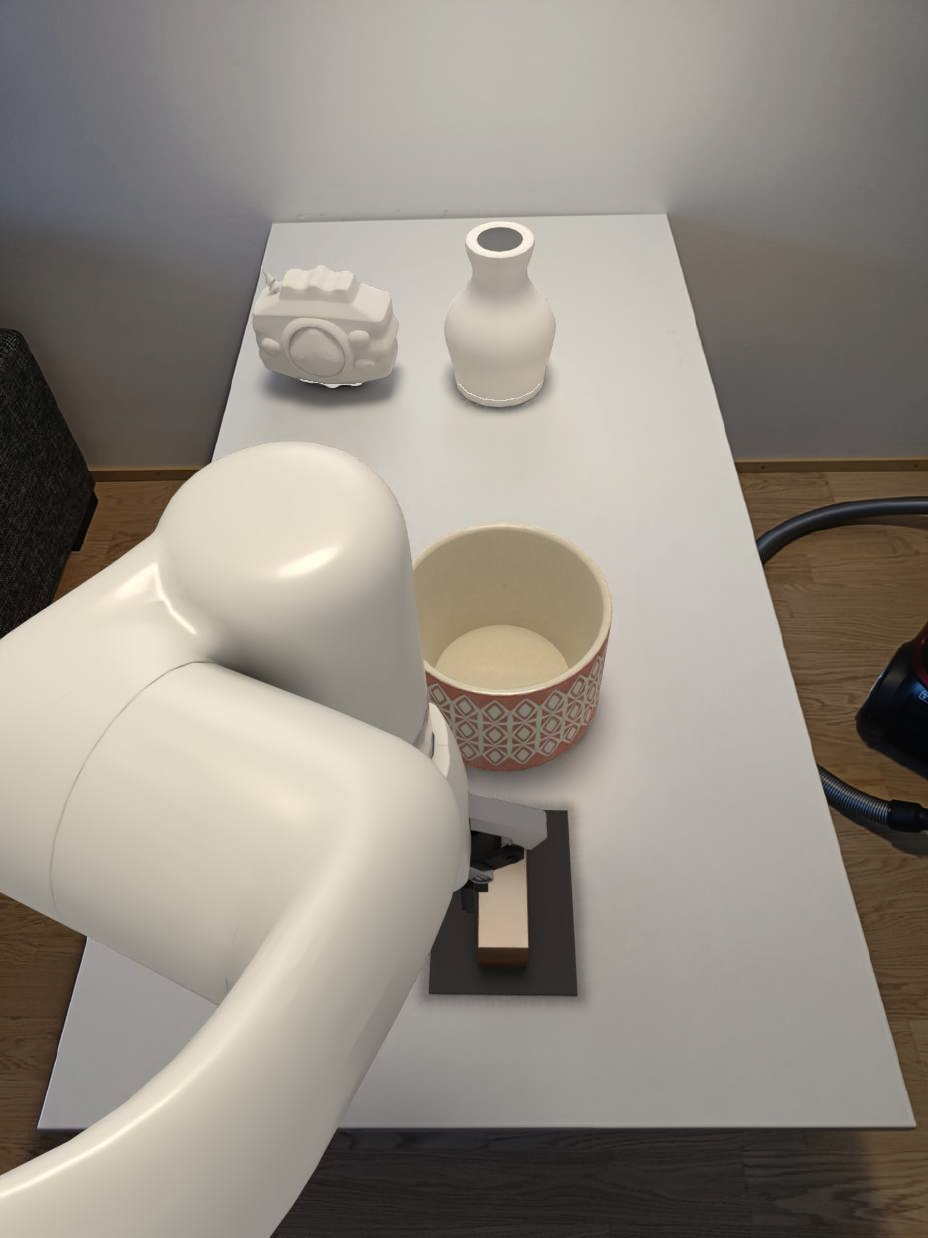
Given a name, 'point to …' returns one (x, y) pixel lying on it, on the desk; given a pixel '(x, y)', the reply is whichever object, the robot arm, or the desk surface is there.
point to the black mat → (547, 931)
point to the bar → (504, 918)
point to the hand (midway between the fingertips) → (381, 885)
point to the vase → (499, 319)
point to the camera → (325, 327)
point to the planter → (512, 640)
